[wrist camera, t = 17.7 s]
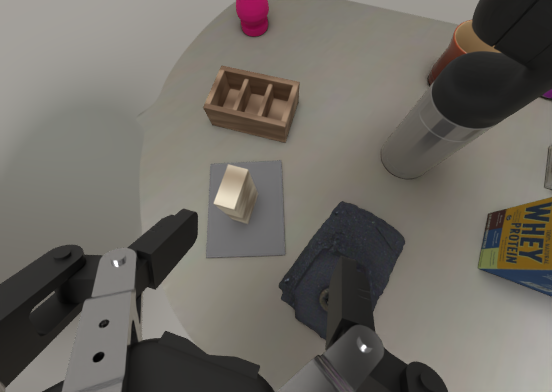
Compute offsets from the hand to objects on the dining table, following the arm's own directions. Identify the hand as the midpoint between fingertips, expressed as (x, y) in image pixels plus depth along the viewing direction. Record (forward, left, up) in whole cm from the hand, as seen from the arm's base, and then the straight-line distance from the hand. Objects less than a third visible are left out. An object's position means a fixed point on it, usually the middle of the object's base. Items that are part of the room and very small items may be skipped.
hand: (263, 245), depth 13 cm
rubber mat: (-2, -11, -31) cm, 33 cm away
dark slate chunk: (-7, +9, -31) cm, 33 cm away
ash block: (-2, -11, -30) cm, 32 cm away
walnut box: (-17, -25, -31) cm, 43 cm away
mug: (-52, -2, -31) cm, 60 cm away
